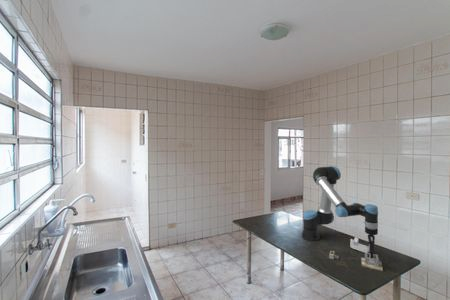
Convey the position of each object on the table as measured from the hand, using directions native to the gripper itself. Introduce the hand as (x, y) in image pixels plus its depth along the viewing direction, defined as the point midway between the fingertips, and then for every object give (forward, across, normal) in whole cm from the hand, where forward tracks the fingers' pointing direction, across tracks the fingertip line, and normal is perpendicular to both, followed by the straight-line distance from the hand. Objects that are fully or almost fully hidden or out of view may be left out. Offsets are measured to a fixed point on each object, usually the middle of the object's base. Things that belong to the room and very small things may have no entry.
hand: (371, 257), depth 164 cm
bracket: (+5, -21, -6) cm, 22 cm away
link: (+4, 0, 0) cm, 4 cm away
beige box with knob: (+5, 0, -25) cm, 25 cm away
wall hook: (+5, 0, -22) cm, 22 cm away
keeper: (+5, 0, 0) cm, 5 cm away
